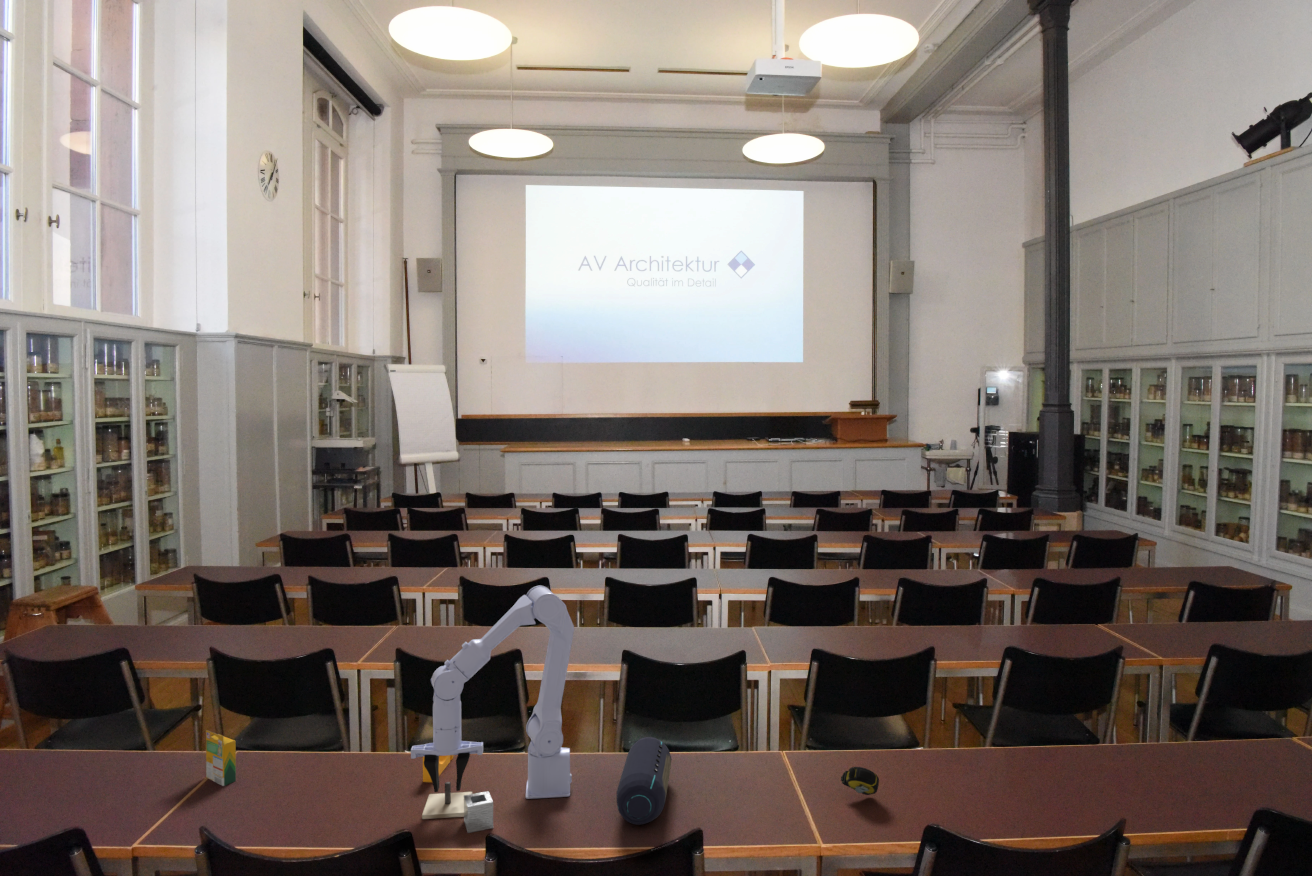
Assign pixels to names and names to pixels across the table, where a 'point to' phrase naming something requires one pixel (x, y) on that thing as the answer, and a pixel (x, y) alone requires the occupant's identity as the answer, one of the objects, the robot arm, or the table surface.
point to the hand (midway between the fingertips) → (447, 789)
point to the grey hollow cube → (478, 811)
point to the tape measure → (861, 780)
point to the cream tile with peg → (445, 804)
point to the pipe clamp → (442, 765)
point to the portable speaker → (644, 781)
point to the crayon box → (220, 758)
